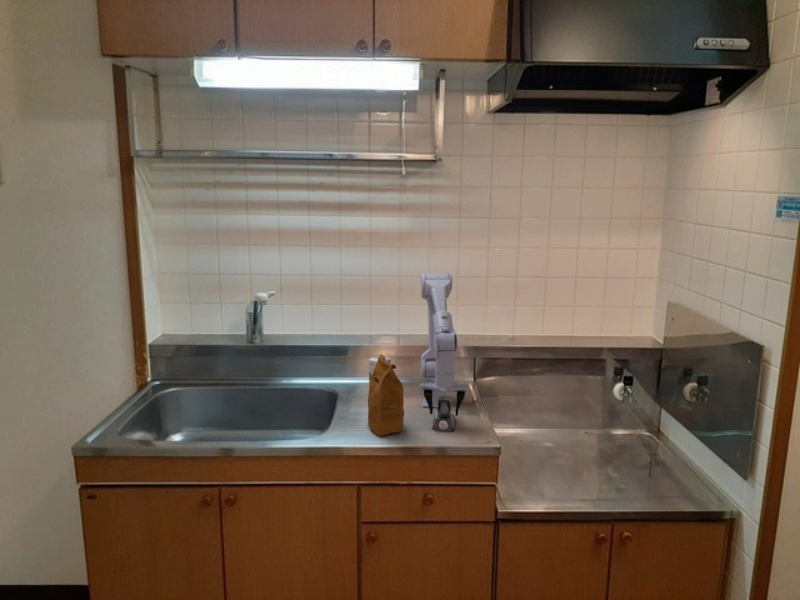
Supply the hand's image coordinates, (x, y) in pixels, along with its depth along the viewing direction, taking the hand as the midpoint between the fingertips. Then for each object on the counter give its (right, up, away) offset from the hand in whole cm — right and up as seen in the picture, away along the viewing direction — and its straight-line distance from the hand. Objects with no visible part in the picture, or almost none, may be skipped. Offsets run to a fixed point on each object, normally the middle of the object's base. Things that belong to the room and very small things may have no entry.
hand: (444, 413), depth 179 cm
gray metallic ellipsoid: (+1, -1, +5) cm, 5 cm away
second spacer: (0, -1, 0) cm, 1 cm away
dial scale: (0, -4, +3) cm, 5 cm away
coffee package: (-18, -5, 0) cm, 19 cm away
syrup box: (-20, 0, +23) cm, 31 cm away
